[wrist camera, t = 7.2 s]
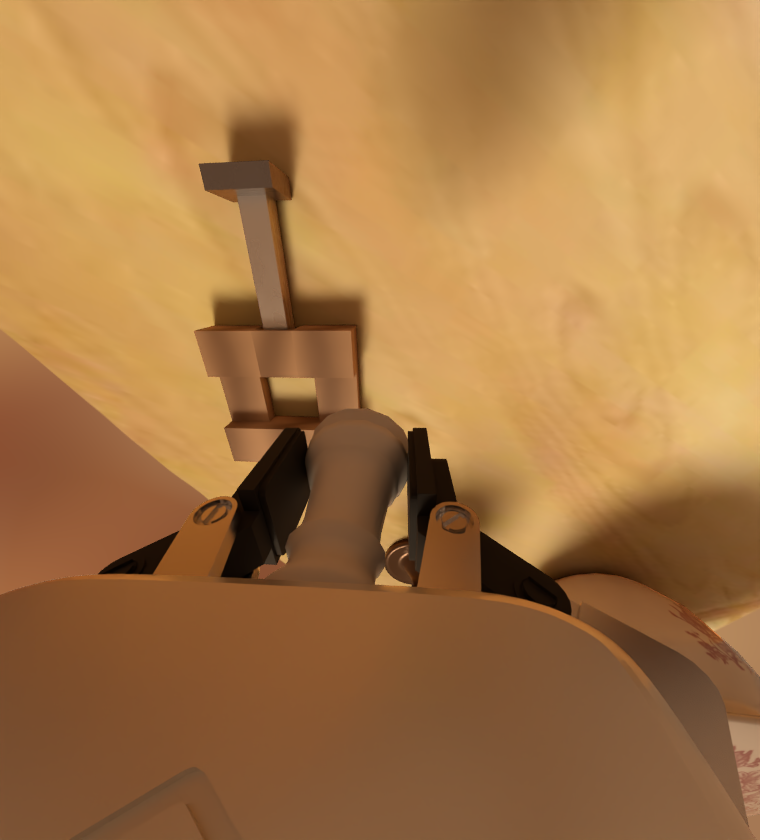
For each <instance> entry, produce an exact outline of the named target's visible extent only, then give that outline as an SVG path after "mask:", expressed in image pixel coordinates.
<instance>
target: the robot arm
mask: <svg viewBox="0 0 760 840" xmlns="http://www.w3.org/2000/svg"><path fill="white" fill-rule="evenodd" d="M307 450H308V446H307V441H306V435H305V432H304V431H301V429H300V428H285V429H284V430H283V431H282V432H281V434H280V435H279V436H278V438H277V439H276V440H275V441H274V443H273V444H272V445H271V446H270V448H269V449H268V450H267V452H266V453H265V454H264V455H263V457H262V458H261V459H260V461H259V462H258V463H257V464H256V466H255V467H254V468H253V469H252V471H251V472H250V473H249V475H248V476H247V477H246V478H245V480H244V481H243V482H242V484H241V485H240V486H239V487H238V489H237V491H236V492H235V493H234V495H233V496H232V497H228V496H221V497H216V498H213V499H210V500H207V501H206V502H204V503H202V504H200V505H199V506H197V507H196V508H195V509H194V510H193V511H192V512H191V514H190V515H189V516H188V518H187V520H186V521H185V523H184V524H183V526H182V528H181V529H180V531H178V532H175V533H173V534H171V535H169V536H167V537H165V538H163V539H161V540H158V541H157V542H154V543H152V544H150V545H148V546H146V547H143V548H141V549H139V550H137V551H135V552H133V553H131V554H128V555H126V556H124V557H122V558H120V559H118V560H116V561H115V562H113V563H111V564H110V565H108V566H107V567H105V568H104V569H103V570H102V571H100V573H99V574H93V575H82V576H72V577H65V578H59V579H54V580H48V581H44V582H40V583H37V584H33V585H29V586H25V587H22V588H18V589H15V590H12V591H9V592H6V593H4V594H1V595H0V840H756V839H755V837H754V835H753V834H752V832H751V831H750V829H749V825H748V821H747V815H746V810H745V805H744V800H743V795H742V790H741V785H740V779H739V774H738V769H737V764H736V759H735V754H734V749H733V744H732V739H731V734H730V729H729V723H728V718H727V713H726V708H725V704H724V702H723V699H722V697H721V694H720V692H719V690H718V689H717V687H716V686H715V685H714V683H713V682H712V681H711V679H710V678H709V677H708V675H707V674H705V673H704V672H703V671H702V670H701V669H700V668H699V667H698V666H697V665H696V664H695V663H694V662H692V661H691V660H689V659H688V658H686V657H685V656H683V655H682V654H680V653H679V652H677V651H675V650H673V649H671V648H669V647H667V646H666V645H664V644H662V643H660V642H658V641H656V640H654V639H652V638H651V637H649V636H647V635H645V634H643V633H641V632H639V631H637V630H636V629H634V628H632V627H630V626H628V625H626V624H624V623H622V622H621V621H619V620H617V619H615V618H613V617H611V616H609V615H607V614H605V613H604V612H602V611H600V610H598V609H596V608H594V607H592V606H590V605H589V604H587V603H585V602H583V601H582V602H581V604H580V605H579V604H577V603H576V602H574V601H572V600H570V599H569V598H568V596H567V594H566V592H565V591H564V590H563V589H562V588H561V587H560V585H559V584H558V583H557V582H555V581H554V580H553V579H552V578H550V577H549V576H547V575H546V574H544V573H543V572H541V571H540V570H538V569H537V568H535V567H534V566H532V565H531V564H529V563H528V562H526V561H525V560H523V559H522V558H520V557H519V556H517V555H516V554H514V553H513V552H511V551H510V550H508V549H507V548H505V547H504V546H502V545H501V544H499V543H497V542H496V541H494V540H493V539H491V538H490V537H488V536H487V535H485V534H484V533H482V532H481V531H480V523H479V518H478V516H477V515H476V513H475V512H474V511H473V510H472V509H471V508H469V507H468V506H466V505H464V504H461V503H457V500H456V496H455V492H454V488H453V484H452V479H451V475H450V471H449V467H448V463H447V460H446V459H431V455H430V448H429V442H428V435H427V429H426V428H413V431H408V480H407V496H408V545H409V560H414V561H415V571H418V572H419V573H420V574H419V579H418V585H417V587H407V586H389V585H370V584H352V583H333V582H313V581H293V580H272V579H258V576H259V572H260V571H259V570H260V566H261V565H263V564H272V565H277V563H278V560H279V558H280V556H281V555H284V554H285V553H286V549H285V545H286V543H287V540H288V537H289V534H290V533H291V532H293V531H294V530H295V529H296V528H297V525H298V523H299V521H300V518H301V516H302V513H303V511H304V509H305V506H306V504H307V502H308V499H309V496H310V492H311V490H310V487H309V481H308V477H307V471H306V466H305V456H306V453H307Z"/></svg>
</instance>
